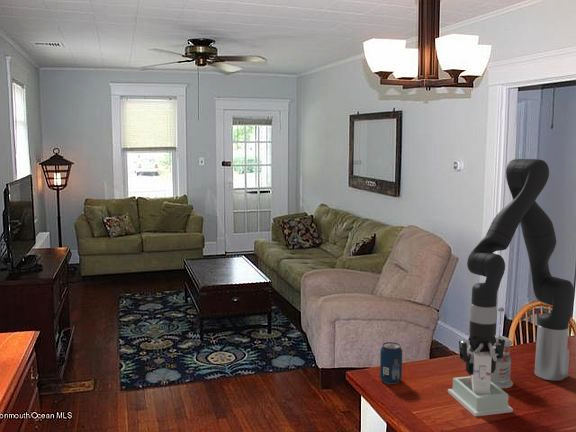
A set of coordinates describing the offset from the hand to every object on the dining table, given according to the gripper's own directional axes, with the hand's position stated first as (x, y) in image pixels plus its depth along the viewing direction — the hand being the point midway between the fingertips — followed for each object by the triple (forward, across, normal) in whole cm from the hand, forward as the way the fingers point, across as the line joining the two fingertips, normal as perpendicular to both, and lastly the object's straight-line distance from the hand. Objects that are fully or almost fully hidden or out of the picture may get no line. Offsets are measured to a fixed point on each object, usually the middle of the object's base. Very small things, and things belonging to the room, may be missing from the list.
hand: (480, 372), depth 173 cm
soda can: (+9, +20, -20) cm, 30 cm away
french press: (+9, -14, -12) cm, 21 cm away
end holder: (+9, 0, 0) cm, 9 cm away
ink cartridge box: (+5, 0, 0) cm, 5 cm away
